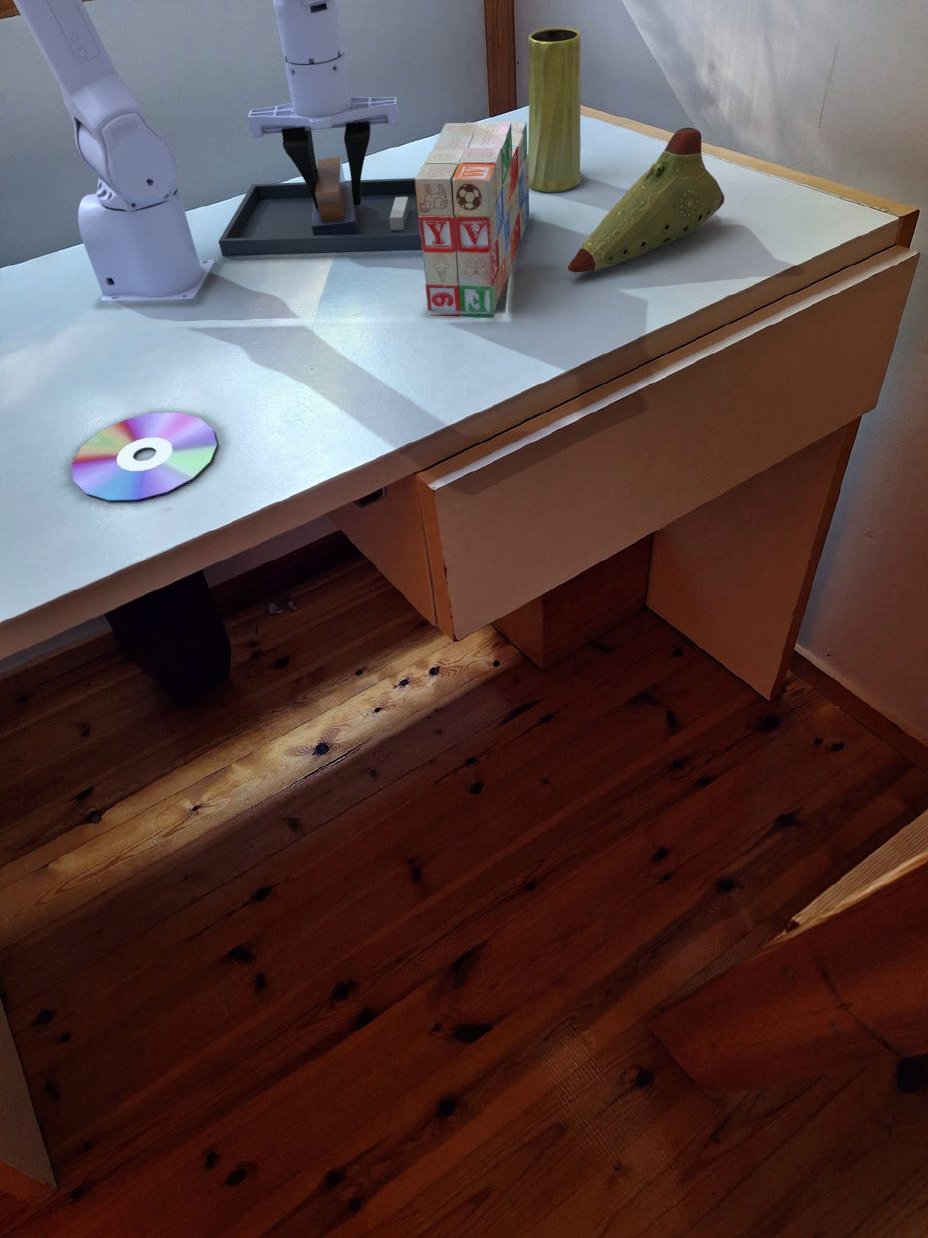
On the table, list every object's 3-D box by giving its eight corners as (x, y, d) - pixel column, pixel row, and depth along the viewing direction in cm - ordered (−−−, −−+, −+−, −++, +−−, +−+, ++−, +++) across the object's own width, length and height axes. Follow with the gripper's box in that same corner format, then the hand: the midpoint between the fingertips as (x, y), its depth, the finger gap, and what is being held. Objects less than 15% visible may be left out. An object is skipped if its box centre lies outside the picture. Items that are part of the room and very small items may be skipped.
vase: (518, 176, 102) (515, 31, 92) (569, 166, 103) (571, 21, 93) (537, 196, 98) (536, 47, 88) (590, 186, 99) (595, 37, 89)
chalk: (390, 230, 94) (389, 217, 93) (396, 210, 97) (395, 196, 96) (404, 230, 93) (402, 216, 92) (409, 209, 97) (408, 196, 96)
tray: (223, 261, 93) (218, 240, 91) (256, 202, 102) (251, 183, 101) (427, 255, 90) (425, 234, 89) (441, 196, 100) (439, 176, 99)
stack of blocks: (472, 215, 96) (464, 86, 87) (530, 216, 95) (528, 86, 86) (427, 316, 82) (413, 175, 73) (495, 319, 81) (489, 176, 72)
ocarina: (586, 293, 83) (590, 181, 76) (549, 273, 86) (549, 163, 79) (739, 226, 90) (756, 117, 83) (700, 210, 93) (713, 104, 86)
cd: (193, 397, 75) (193, 397, 75) (235, 467, 68) (235, 466, 68) (58, 442, 72) (58, 441, 72) (88, 520, 65) (88, 519, 65)
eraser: (357, 234, 93) (349, 192, 90) (314, 239, 93) (304, 197, 90) (358, 194, 98) (350, 153, 94) (317, 199, 98) (308, 157, 95)
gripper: (231, 75, 82) (265, 225, 92) (390, 61, 82) (407, 212, 92) (241, 52, 87) (272, 196, 97) (391, 38, 86) (407, 184, 96)
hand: (338, 202), depth 94 cm, fingers closed on eraser, 3 cm apart
